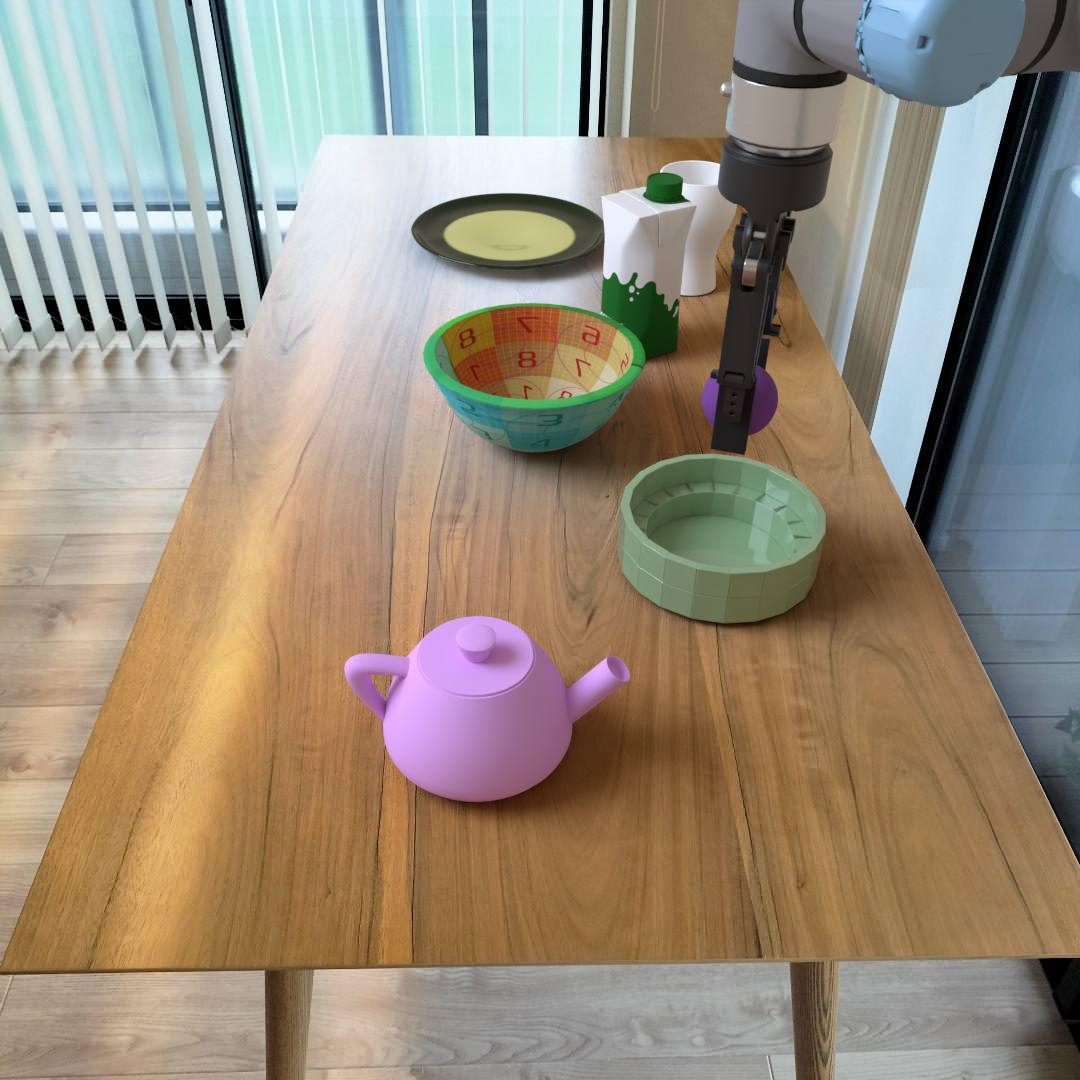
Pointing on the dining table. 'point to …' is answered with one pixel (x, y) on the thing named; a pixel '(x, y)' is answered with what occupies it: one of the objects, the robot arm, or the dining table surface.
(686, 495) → the green bowl
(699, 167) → the cup
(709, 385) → the ball
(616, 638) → the dining table surface
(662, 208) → the milk carton
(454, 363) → the bowl
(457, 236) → the plate
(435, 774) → the teapot
